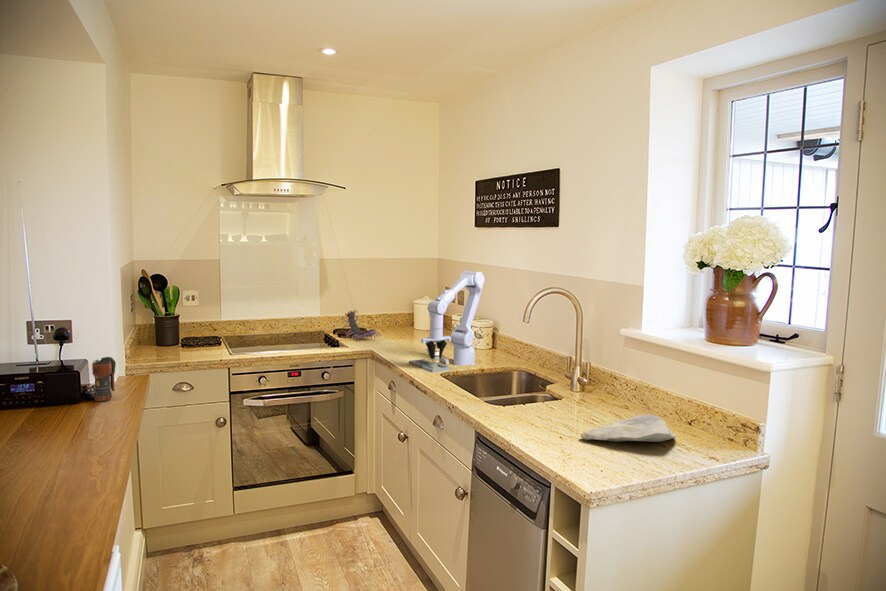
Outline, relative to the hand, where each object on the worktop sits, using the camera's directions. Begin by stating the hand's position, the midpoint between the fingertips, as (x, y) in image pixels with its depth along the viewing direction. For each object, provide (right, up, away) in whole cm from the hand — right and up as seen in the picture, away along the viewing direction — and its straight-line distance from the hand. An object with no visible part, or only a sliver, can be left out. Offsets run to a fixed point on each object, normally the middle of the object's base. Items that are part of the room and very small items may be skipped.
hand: (435, 358), depth 268 cm
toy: (-43, +3, +74) cm, 85 cm away
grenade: (-116, -9, -55) cm, 128 cm away
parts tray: (0, -6, +1) cm, 6 cm away
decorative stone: (+60, -16, -82) cm, 102 cm away
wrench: (0, -4, +23) cm, 24 cm away
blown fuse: (0, -2, 0) cm, 2 cm away
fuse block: (-6, -5, +8) cm, 11 cm away
